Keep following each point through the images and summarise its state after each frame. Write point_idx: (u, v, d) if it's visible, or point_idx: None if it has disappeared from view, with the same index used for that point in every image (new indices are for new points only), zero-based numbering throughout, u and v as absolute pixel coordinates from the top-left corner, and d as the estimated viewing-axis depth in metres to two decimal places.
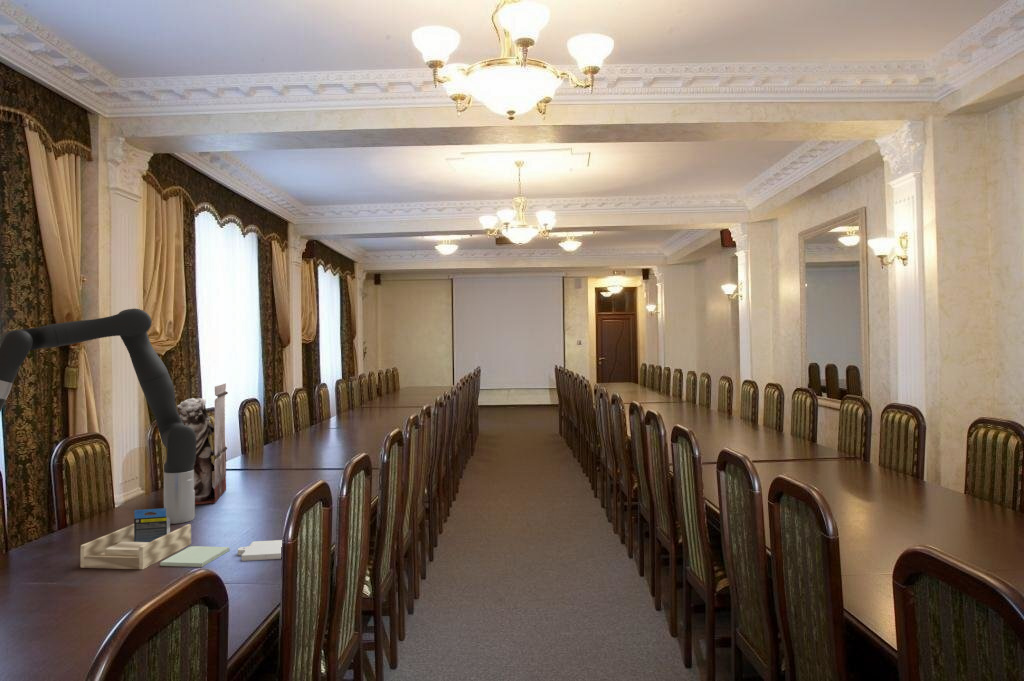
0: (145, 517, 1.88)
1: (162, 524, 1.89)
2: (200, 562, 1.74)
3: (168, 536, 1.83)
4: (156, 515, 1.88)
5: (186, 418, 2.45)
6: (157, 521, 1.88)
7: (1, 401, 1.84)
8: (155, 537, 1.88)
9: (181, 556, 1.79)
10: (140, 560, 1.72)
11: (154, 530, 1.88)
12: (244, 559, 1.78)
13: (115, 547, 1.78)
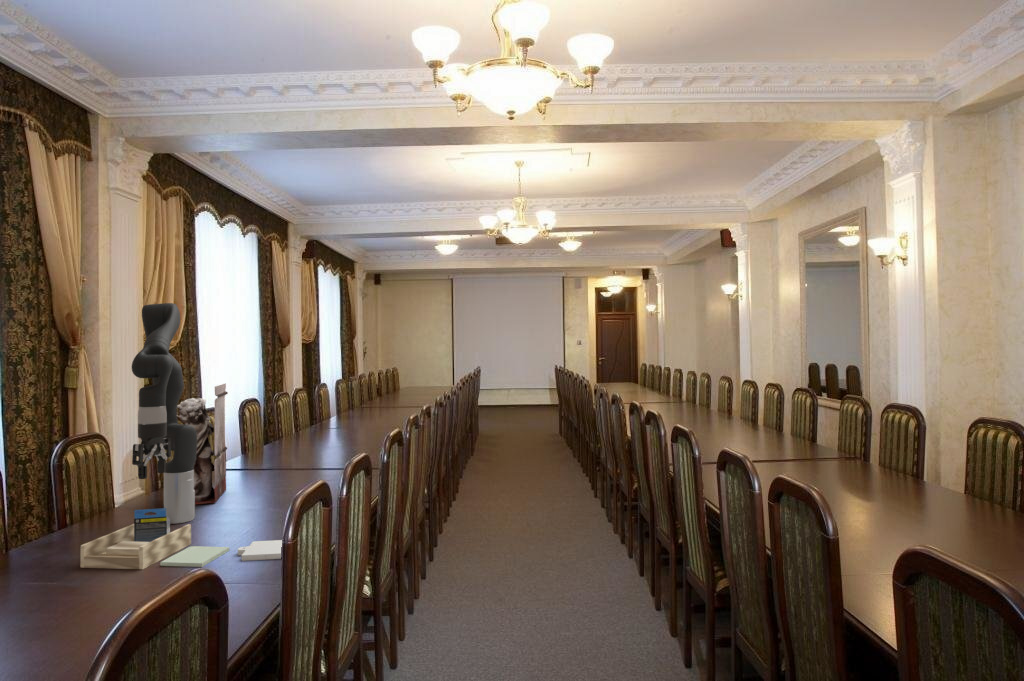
0: (145, 517, 1.88)
1: (162, 524, 1.89)
2: (200, 562, 1.74)
3: (168, 536, 1.83)
4: (156, 515, 1.88)
5: (186, 418, 2.45)
6: (157, 521, 1.88)
7: None
8: (155, 537, 1.88)
9: (181, 556, 1.79)
10: (140, 560, 1.72)
11: (154, 530, 1.88)
12: (244, 559, 1.78)
13: (116, 547, 1.78)
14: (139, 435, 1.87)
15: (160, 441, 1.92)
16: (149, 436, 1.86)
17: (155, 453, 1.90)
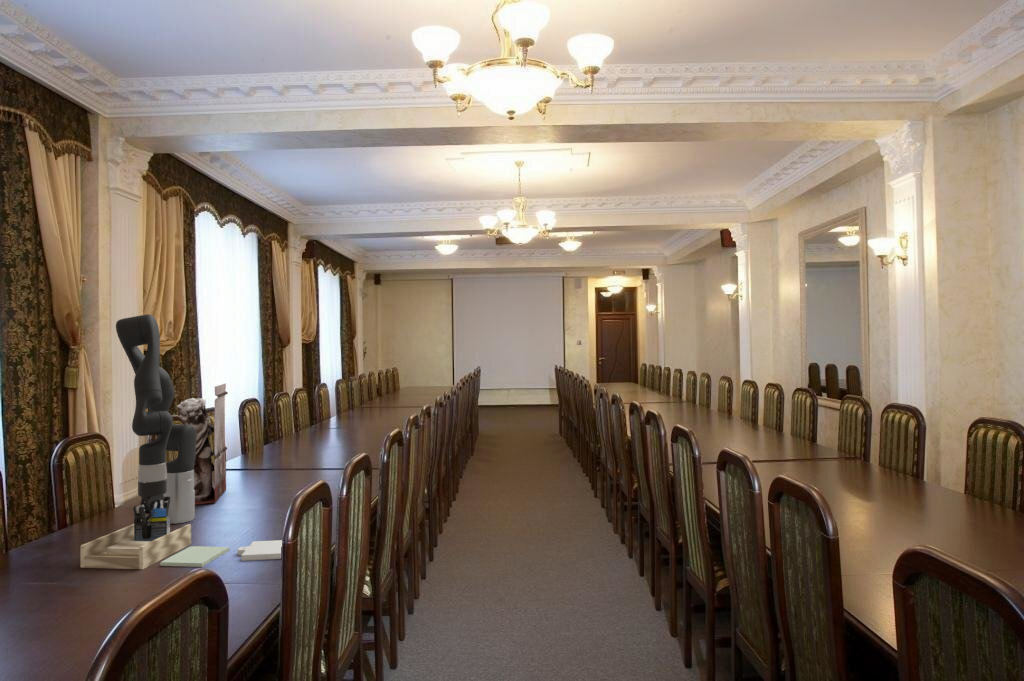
0: None
1: (162, 524, 1.89)
2: (200, 562, 1.74)
3: (168, 536, 1.83)
4: (156, 515, 1.88)
5: (186, 418, 2.45)
6: (157, 521, 1.88)
7: None
8: (155, 537, 1.88)
9: (181, 556, 1.79)
10: (140, 560, 1.72)
11: (154, 530, 1.88)
12: (244, 559, 1.79)
13: (117, 546, 1.78)
14: (139, 493, 1.87)
15: (160, 497, 1.92)
16: (149, 494, 1.86)
17: None
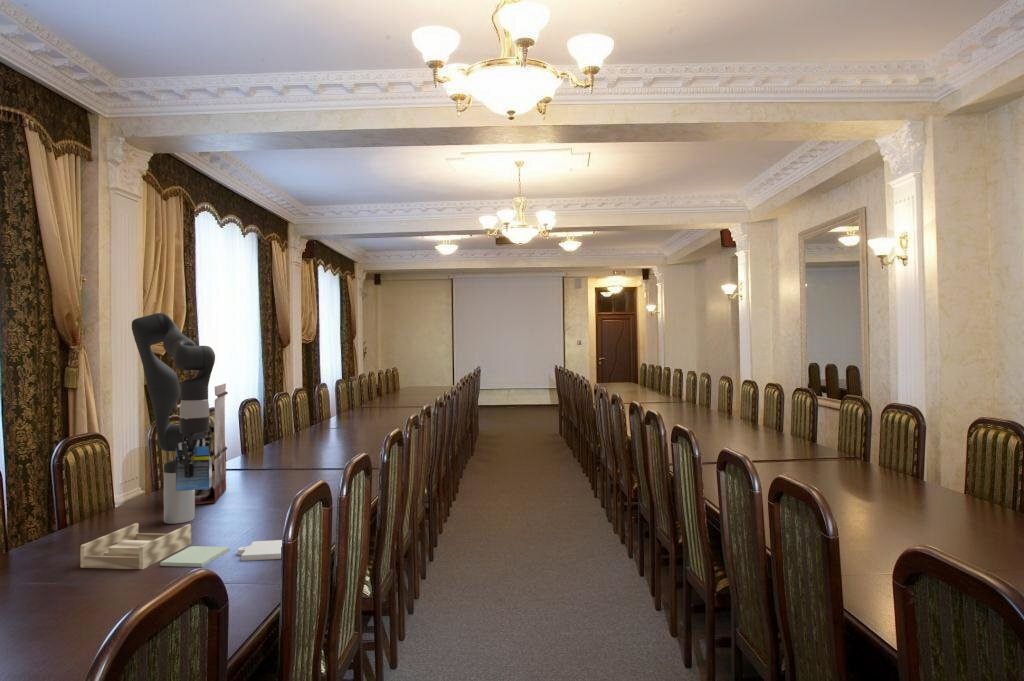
0: None
1: (204, 463, 1.80)
2: (200, 562, 1.74)
3: (168, 536, 1.83)
4: (198, 453, 1.80)
5: None
6: (199, 460, 1.80)
7: None
8: (197, 476, 1.79)
9: (181, 556, 1.79)
10: (140, 560, 1.72)
11: (196, 469, 1.79)
12: (244, 559, 1.79)
13: (118, 545, 1.79)
14: (181, 430, 1.78)
15: (202, 436, 1.83)
16: (192, 431, 1.78)
17: None
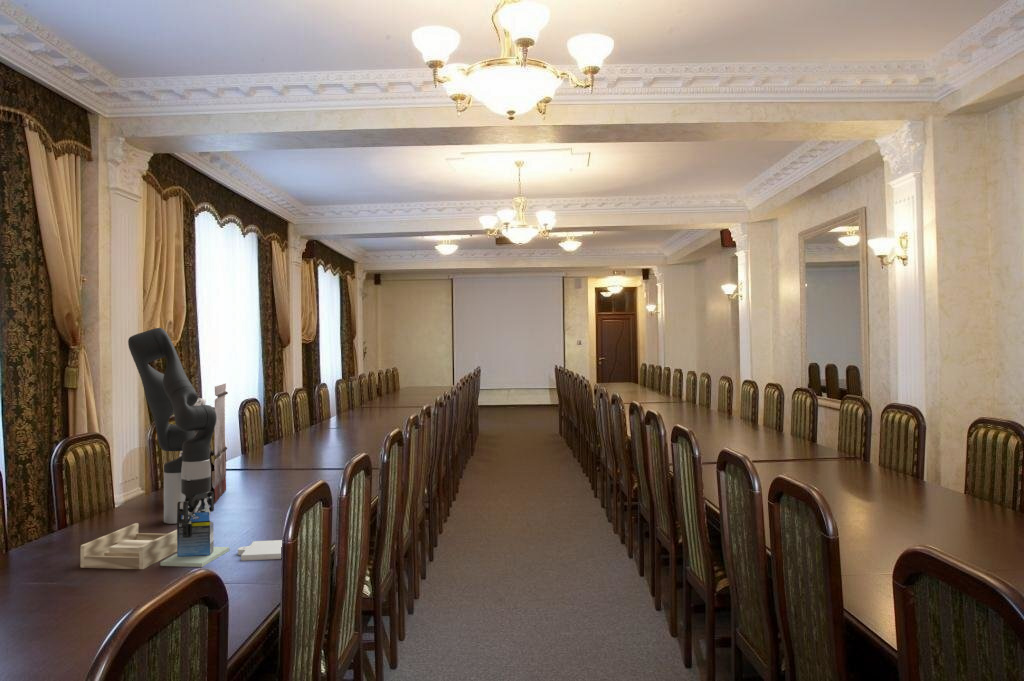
0: None
1: (205, 528, 1.80)
2: (200, 562, 1.74)
3: (168, 536, 1.83)
4: (199, 519, 1.80)
5: None
6: (200, 526, 1.80)
7: None
8: (198, 542, 1.79)
9: None
10: (140, 560, 1.72)
11: (197, 535, 1.79)
12: (244, 559, 1.79)
13: (119, 545, 1.79)
14: (183, 491, 1.78)
15: (204, 496, 1.83)
16: (194, 492, 1.78)
17: (199, 509, 1.81)
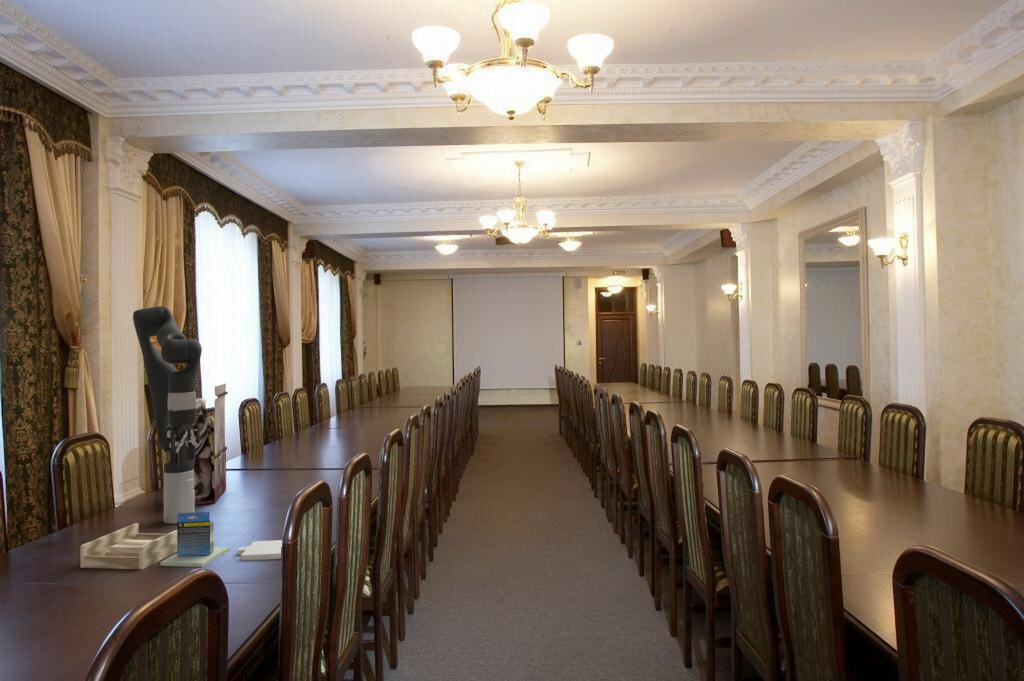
0: (188, 521, 1.79)
1: (205, 528, 1.80)
2: (200, 562, 1.74)
3: (168, 536, 1.83)
4: (199, 519, 1.80)
5: None
6: (200, 526, 1.80)
7: None
8: (198, 542, 1.79)
9: None
10: (140, 560, 1.72)
11: (197, 535, 1.79)
12: (243, 559, 1.79)
13: (120, 545, 1.80)
14: (170, 421, 1.83)
15: (190, 427, 1.88)
16: (180, 422, 1.82)
17: (186, 440, 1.86)
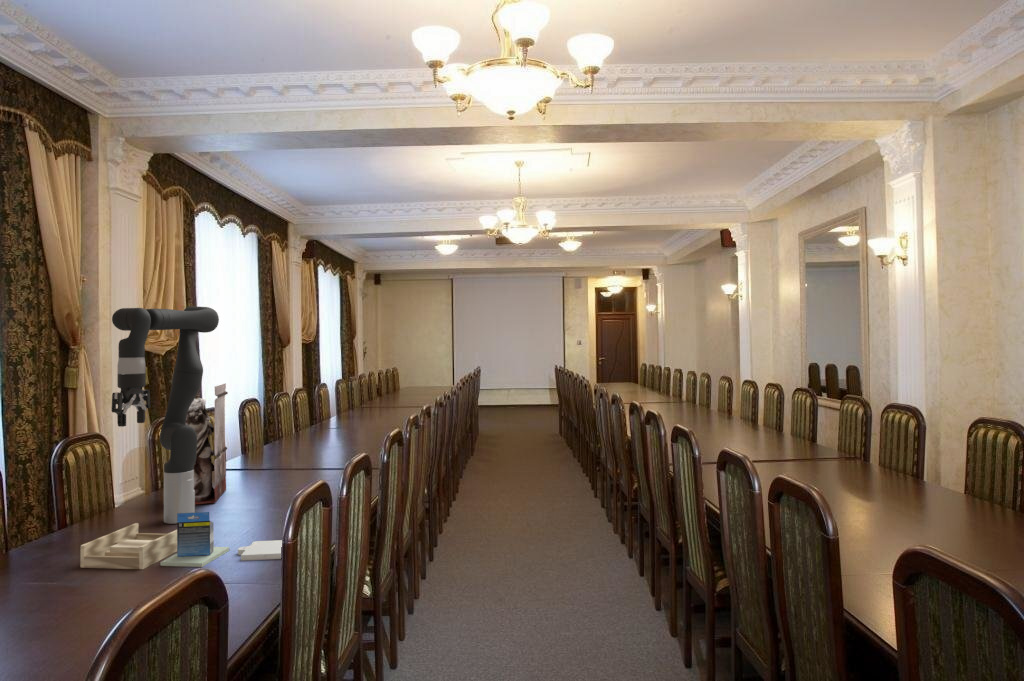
0: (188, 521, 1.79)
1: (205, 528, 1.80)
2: (200, 562, 1.74)
3: (168, 536, 1.83)
4: (199, 519, 1.80)
5: (186, 418, 2.45)
6: (200, 526, 1.80)
7: None
8: (198, 542, 1.79)
9: None
10: (140, 560, 1.72)
11: (197, 535, 1.79)
12: (243, 559, 1.79)
13: (120, 545, 1.79)
14: (118, 385, 1.94)
15: (139, 392, 1.99)
16: (128, 385, 1.93)
17: (134, 403, 1.97)
